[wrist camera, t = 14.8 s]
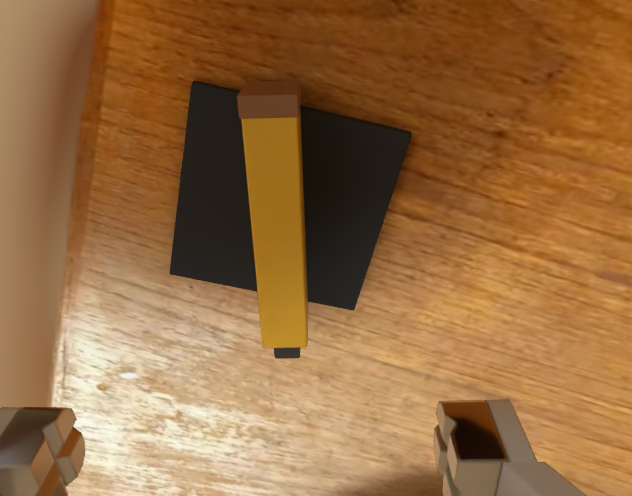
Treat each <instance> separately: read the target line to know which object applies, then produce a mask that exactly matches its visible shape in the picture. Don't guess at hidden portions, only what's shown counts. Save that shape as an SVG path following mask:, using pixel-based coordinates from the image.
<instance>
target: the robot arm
mask: <svg viewBox="0 0 632 496" xmlns="http://www.w3.org/2000/svg"><path fill="white" fill-rule="evenodd" d="M436 415H437V419H438V423H439V424H438V425H437V426H436V427H435V428H434V455H435V461H436V466H437V471H438V473H439V474H440V475H441V476H442V477H443V478H444V480H443V488H442V493H443V496H587V495H585V494H584V493H583V492H582V491H580V490H579V489H578V488H577V487H575V486H574V485H573V484H572V483H570V482H569V481H568V480H567V479H565V478H564V477H563V476H562V475H560V474H559V473H558V472H557V471H555V470H554V469H553V468H552V467H550V466H549V465H548V464H547V463H546V462H537V459H536V457H535V455H534V452H533V450H532V448H531V446H530V443H529V441H528V439H527V437H526V434H525V432H524V430H523V428H522V425H521V423H520V421H519V418H518V416H517V414H516V412H515V409H514V407H513V405H512V403H511V402H510V401H509V400H508V399H500V400H459V401H439V402H438V405H437V411H436ZM76 420H77V419H76V417H75V414H74V412H73V410H72V409H71V408H57V407H23V408H16V407H5V408H4V407H2V408H0V496H68V492H67V489H66V486H67V485H68V484H69V483H71V482H72V481H73V480H74V479H76V478H77V477H78V474H79V472H80V470H81V468H82V466H83V461H84V456H85V441H84V438H83V435H82V433H81V432H79V431H78V430H77V429H75V428H74V427H73V425H74V423H75V421H76Z"/></svg>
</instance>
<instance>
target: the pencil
mask: <svg viewBox="0 0 632 496" xmlns="http://www.w3.org/2000/svg"><path fill="white" fill-rule="evenodd" d="M237 102H238V112H239V118H240V119H241V122H242V132H243V143H244V154H245V164H246V175H247V185H248V196H249V206H250V217H251V227H252V238H253V248H254V259H255V270H256V280H257V291H258V301H259V312H260V322H261V333H262V343H263V347H264V348H274V356H275V358H299V357H300V347H307V342H308V293H307V268H306V242H305V217H304V192H303V167H302V142H301V117H300V104H301V83H300V80H275V81H247V82H246V83H245V85H244V87H243V88H242V90H241V91H240V93H239V94H238V96H237Z"/></svg>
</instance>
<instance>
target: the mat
mask: <svg viewBox="0 0 632 496" xmlns="http://www.w3.org/2000/svg"><path fill="white" fill-rule="evenodd" d="M239 93H240V91H237V90H233V89H228V88H224V87H220V86H216V85H212V84H207V83H203V82H199V81H193V82H192V85H191V93H190V102H189V110H188V119H187V128H186V136H185V145H184V154H183V162H182V171H181V180H180V188H179V197H178V206H177V214H176V223H175V231H174V240H173V249H172V257H171V266H170V274H171V275H177V276H182V277H187V278H192V279H197V280H202V281H207V282H212V283H217V284H222V285H227V286H232V287H237V288H242V289H248V290H253V291H257V280H256V270H255V259H254V248H253V238H252V227H251V217H250V206H249V196H248V185H247V175H246V164H245V154H244V143H243V132H242V122H241V119H240V118H239V112H238V102H237V96H238V94H239ZM300 117H301V142H302V167H303V192H304V217H305V242H306V268H307V293H308V302H313V303H319V304H324V305H329V306H334V307H339V308H344V309H349V310H354V309H355V306H356V303H357V300H358V297H359V294H360V291H361V288H362V284H363V281H364V278H365V275H366V272H367V269H368V266H369V263H370V260H371V257H372V254H373V251H374V248H375V245H376V242H377V239H378V236H379V233H380V230H381V227H382V224H383V221H384V218H385V215H386V212H387V208H388V205H389V202H390V199H391V196H392V193H393V190H394V187H395V184H396V181H397V178H398V175H399V172H400V169H401V166H402V163H403V160H404V157H405V154H406V151H407V148H408V145H409V142H410V139H411V135H412V134H411V132H409V131H405V130H400V129H396V128H392V127H388V126H384V125H379V124H375V123H371V122H367V121H363V120H358V119H354V118H350V117H346V116H342V115H337V114H333V113H329V112H325V111H321V110H316V109H312V108H308V107H304V106H300Z"/></svg>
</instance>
